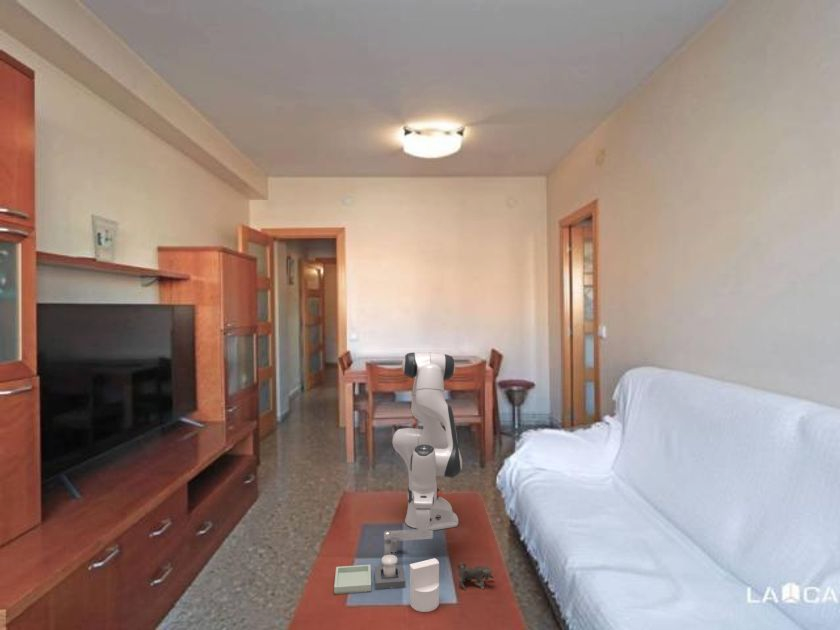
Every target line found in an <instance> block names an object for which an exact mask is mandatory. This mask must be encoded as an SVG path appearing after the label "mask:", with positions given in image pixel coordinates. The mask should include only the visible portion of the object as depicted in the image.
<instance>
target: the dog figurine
mask: <svg viewBox="0 0 840 630" xmlns="http://www.w3.org/2000/svg"><path fill="white" fill-rule="evenodd" d="M457 573H458V577H459V578H458V584H459V585H460V586H461V588H462V589H463V591H467V587H466V586H465V585H464V581H465V582H472V580H476V581H474V582H473V584H474V585H475V586H476V587H478V588H480V589H482V590H484V589H486V588H485V581H488V580H489V578H490V579H494V576H493V574H492V573H493V569H491V568H490V567H488V566H484V565H481V566H480V565H479V566H477V565H476V566H475V567H467V565H466V563H464V562H459V563H458V564H457ZM483 579H484V580H485V581H484V580H483Z"/></svg>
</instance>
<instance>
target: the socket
mask: <svg viewBox="0 0 840 630" xmlns="http://www.w3.org/2000/svg"><path fill="white" fill-rule="evenodd" d="M385 555H392V553H391V542H389V543H386V542H384V554H383V556H385ZM383 569H384V566H383V565H377V566H376V565H375V566H374V587H375V589H374V590H381V589H380V588H388V589H399V588H406V578H405V572H404V564H396V575H398V576H397V577H396V578H390V579H383V578H382V575H381V574H383ZM391 587H392V588H391ZM393 587H394V588H393Z"/></svg>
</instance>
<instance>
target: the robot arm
mask: <svg viewBox="0 0 840 630" xmlns="http://www.w3.org/2000/svg"><path fill="white" fill-rule="evenodd" d="M401 365H402V366H401V368H402V371H403V374H404V376H406V377H407V378H411V379H412V380H414V381H413V384H412V385H413V386H412V394H411V405H410V406H411V410H410V412H411V414H412V416H413V417H414V418H415V419H416V420H418V422H421V424H422V427H423V428H412V427H407V428H405V427H404V428H399V429H396V430H395V432H394V434H393V436H392V440H391V441H392V446H393V449H394V451H395V452H396V453H398V454H399V455H400V457H402V459H403V461H404V463H405V465H406V468H407V473H408V487H407V502H408V503H407V511H406V515H405V519H404V522H405V524H406V525H407V526H409V527H411V528H413V529H418V531H419V532H422V533H424V534H426V533H427V532H428V530H429V528H432V529H433V531H438V530H444V529H450V528H456V527H458V526H459V517H458V515H457V513H455V512H454V510H453V507H452V505H451V503H449V501H448V500H446V499H445V498H444V497H442V496H443V492H442V491H441V490H440V488H439V487H438V486H437V485H438V483H437V479H436V478H437V476H438V477H446V478H451V479H453V478H455V477H457V476H458V475H460V473H461V472H462V470H463V469H462V468H463V458H462V455H461V451H460V449H459V448H460V447H459V441H458V435H457V428H456V422H455V417H454V412H453V408H452V406H451V405H449V404H448V403H447V402H446V399H445V384H444V383H445V381H447V380H450V379H451V378H452V377H453V376H454V374H455V371H456V362H455V359H454V357H453V356H452V355H449V354H441V353H438V352H437V353H436V352H409V353H407V354H405V356H404V358H403V360H402V363H401ZM441 423H442V425H444V428H445V429H444V428H443V426H442V425H441Z"/></svg>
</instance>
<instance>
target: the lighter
mask: <svg viewBox="0 0 840 630" xmlns="http://www.w3.org/2000/svg"><path fill="white" fill-rule="evenodd" d="M398 544H401V541H391V552H396V551H397V552H398ZM397 552H396V553H397Z"/></svg>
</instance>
